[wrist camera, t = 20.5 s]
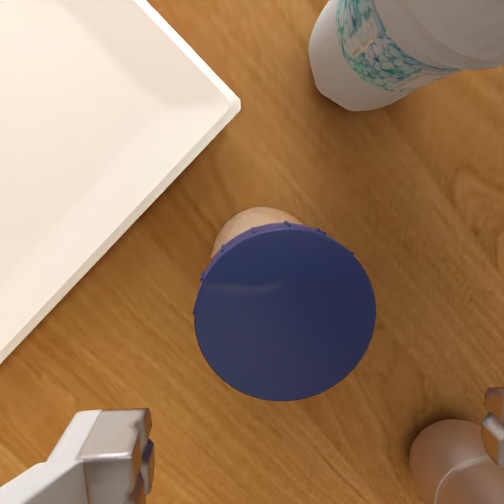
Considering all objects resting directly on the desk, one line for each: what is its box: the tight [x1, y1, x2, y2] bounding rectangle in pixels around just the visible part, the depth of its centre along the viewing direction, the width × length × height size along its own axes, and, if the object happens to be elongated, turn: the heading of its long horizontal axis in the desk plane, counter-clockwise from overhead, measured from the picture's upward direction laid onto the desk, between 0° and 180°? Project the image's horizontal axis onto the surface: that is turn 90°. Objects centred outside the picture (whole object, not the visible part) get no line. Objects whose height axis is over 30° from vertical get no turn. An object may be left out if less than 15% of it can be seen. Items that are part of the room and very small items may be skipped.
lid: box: [193, 221, 376, 401], centre depth 16 cm, size 7×7×2 cm
